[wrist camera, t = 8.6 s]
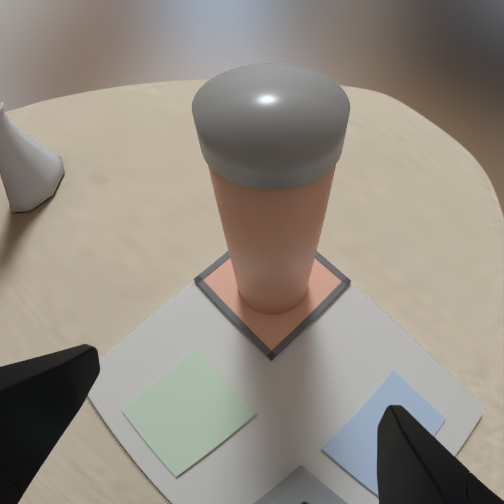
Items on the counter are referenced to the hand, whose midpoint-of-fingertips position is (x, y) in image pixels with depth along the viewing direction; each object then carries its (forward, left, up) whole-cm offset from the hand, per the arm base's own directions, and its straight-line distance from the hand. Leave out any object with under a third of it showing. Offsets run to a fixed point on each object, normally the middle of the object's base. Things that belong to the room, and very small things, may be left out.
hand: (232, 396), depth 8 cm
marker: (+6, +4, -8) cm, 11 cm away
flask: (-4, +28, -9) cm, 30 cm away
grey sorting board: (+1, -2, -9) cm, 9 cm away
